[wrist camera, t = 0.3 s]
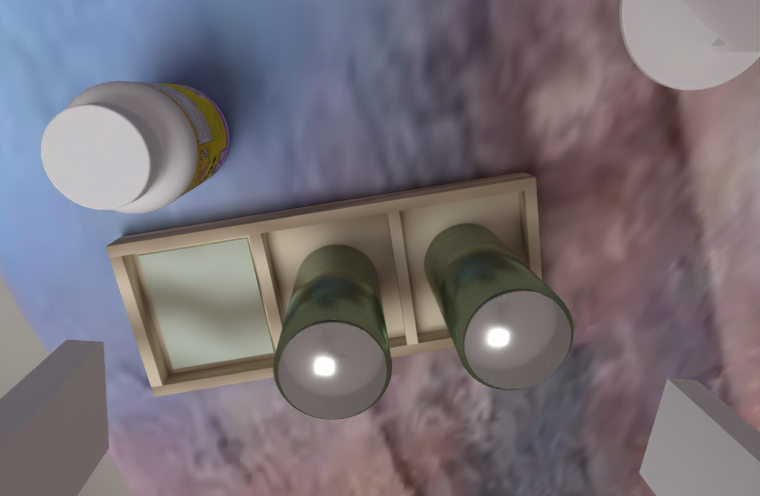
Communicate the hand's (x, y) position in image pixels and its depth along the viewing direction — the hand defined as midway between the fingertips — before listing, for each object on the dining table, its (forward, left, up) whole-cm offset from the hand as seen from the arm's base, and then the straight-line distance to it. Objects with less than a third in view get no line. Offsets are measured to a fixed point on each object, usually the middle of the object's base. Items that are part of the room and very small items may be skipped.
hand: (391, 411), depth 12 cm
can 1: (+6, -3, -25) cm, 26 cm away
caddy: (+6, -3, -26) cm, 27 cm away
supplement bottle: (-6, -11, -26) cm, 29 cm away
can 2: (+6, +7, -25) cm, 27 cm away
